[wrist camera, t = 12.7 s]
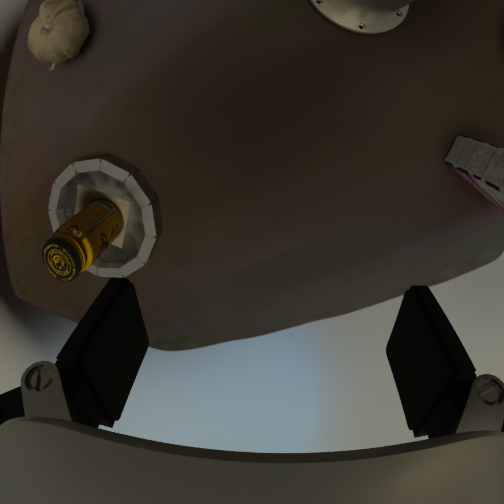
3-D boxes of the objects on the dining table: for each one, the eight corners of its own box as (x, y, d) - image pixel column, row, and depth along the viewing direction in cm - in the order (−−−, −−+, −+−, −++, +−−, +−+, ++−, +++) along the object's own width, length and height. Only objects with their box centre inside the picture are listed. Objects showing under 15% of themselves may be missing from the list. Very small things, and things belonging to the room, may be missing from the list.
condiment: (122, 247, 41) (82, 297, 30) (74, 228, 40) (26, 270, 29) (131, 201, 38) (84, 242, 27) (78, 183, 37) (24, 217, 26)
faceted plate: (49, 163, 36) (39, 168, 34) (152, 149, 35) (145, 153, 33) (73, 266, 44) (66, 274, 42) (168, 270, 43) (163, 279, 41)
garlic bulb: (82, 11, 27) (48, -23, 18) (119, 25, 28) (85, -15, 18) (40, 64, 28) (-3, 39, 19) (72, 83, 29) (26, 55, 19)
